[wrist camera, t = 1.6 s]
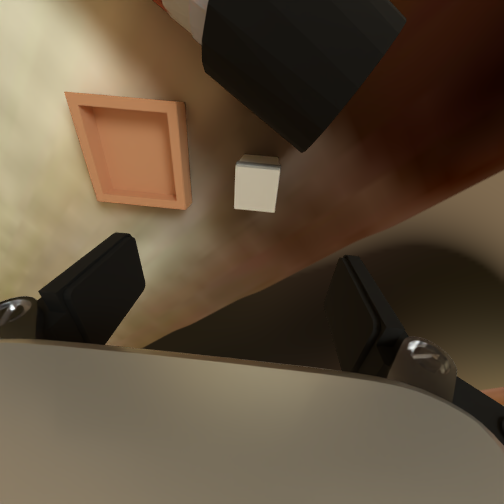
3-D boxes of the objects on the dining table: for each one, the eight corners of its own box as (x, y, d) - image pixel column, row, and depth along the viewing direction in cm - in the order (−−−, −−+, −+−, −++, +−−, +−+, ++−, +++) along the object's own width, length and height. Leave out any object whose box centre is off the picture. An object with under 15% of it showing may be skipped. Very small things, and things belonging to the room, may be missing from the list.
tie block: (279, 156, 26) (281, 169, 20) (274, 192, 28) (275, 213, 22) (243, 153, 26) (234, 165, 20) (241, 189, 28) (233, 209, 22)
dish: (184, 102, 24) (176, 101, 21) (192, 202, 29) (185, 209, 27) (83, 93, 24) (64, 91, 22) (110, 194, 30) (97, 201, 27)
